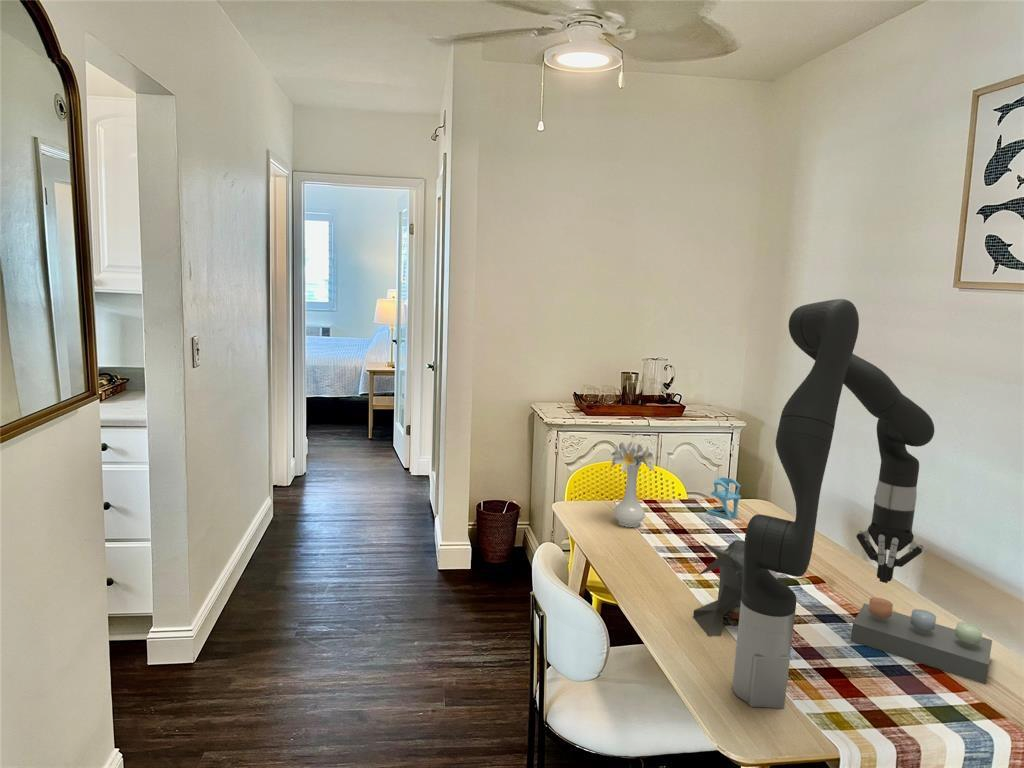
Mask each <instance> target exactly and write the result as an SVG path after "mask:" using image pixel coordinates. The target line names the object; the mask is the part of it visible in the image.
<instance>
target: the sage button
mask: <svg viewBox="0 0 1024 768" xmlns="http://www.w3.org/2000/svg"><path fill="white" fill-rule="evenodd" d="M955 629H956V632H955V636H956V638H958V639H959V640H961V641H963V642H966V643H970V644H980V643H981V638H982V637H983V631H984V630H983V629H982V627H980V626H978V625H977V624H974V623H971V622H966V621H959V622H956V626H955Z"/></svg>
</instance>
